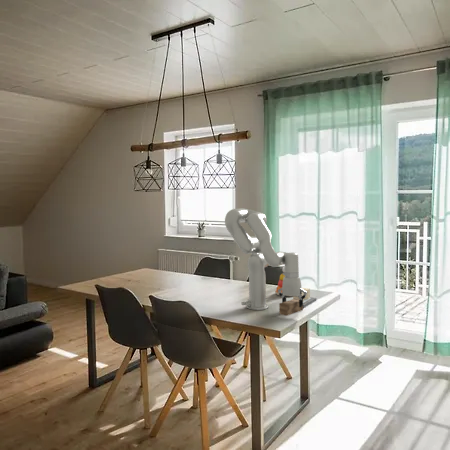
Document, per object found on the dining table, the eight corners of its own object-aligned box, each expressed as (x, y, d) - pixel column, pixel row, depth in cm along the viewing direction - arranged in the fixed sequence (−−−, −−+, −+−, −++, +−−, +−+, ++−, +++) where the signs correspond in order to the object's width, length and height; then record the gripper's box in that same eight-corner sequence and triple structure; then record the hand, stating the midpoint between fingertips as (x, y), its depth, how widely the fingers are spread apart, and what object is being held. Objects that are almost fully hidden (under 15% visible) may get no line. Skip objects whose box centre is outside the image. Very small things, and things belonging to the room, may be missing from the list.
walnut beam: (286, 315, 232) (286, 305, 232) (279, 314, 236) (279, 303, 235) (302, 310, 243) (302, 300, 242) (295, 308, 246) (295, 298, 246)
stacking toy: (279, 291, 290) (279, 262, 288) (300, 293, 283) (300, 264, 282) (271, 295, 277) (271, 265, 276) (292, 298, 270) (293, 267, 269)
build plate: (304, 307, 248) (304, 294, 247) (286, 305, 253) (286, 292, 253) (316, 300, 264) (316, 288, 264) (299, 298, 270) (299, 286, 270)
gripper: (274, 275, 239) (275, 305, 240) (304, 277, 230) (304, 309, 231) (280, 273, 245) (281, 302, 246) (309, 275, 236) (310, 305, 237)
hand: (292, 305), depth 239 cm, fingers open, 9 cm apart
